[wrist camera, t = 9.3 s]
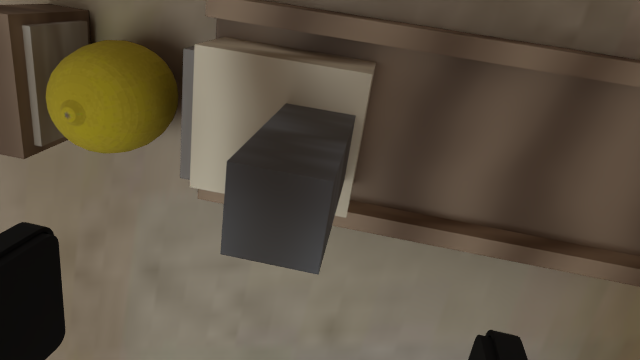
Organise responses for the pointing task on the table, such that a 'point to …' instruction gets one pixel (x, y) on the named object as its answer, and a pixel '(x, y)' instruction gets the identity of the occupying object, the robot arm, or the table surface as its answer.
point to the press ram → (273, 143)
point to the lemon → (112, 96)
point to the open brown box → (33, 71)
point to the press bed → (480, 138)
